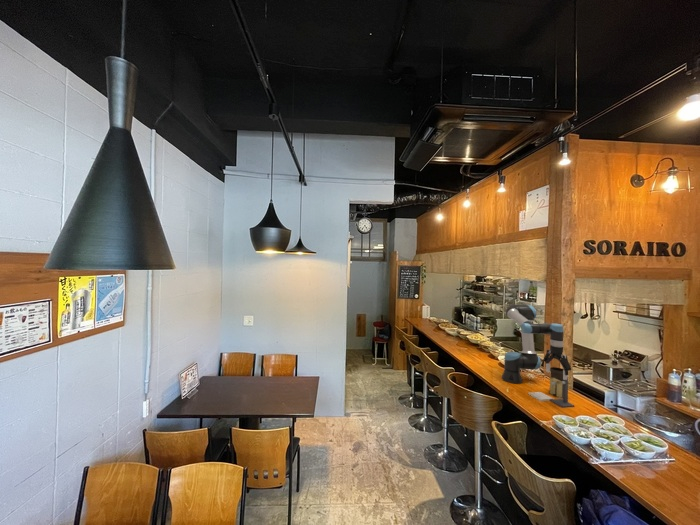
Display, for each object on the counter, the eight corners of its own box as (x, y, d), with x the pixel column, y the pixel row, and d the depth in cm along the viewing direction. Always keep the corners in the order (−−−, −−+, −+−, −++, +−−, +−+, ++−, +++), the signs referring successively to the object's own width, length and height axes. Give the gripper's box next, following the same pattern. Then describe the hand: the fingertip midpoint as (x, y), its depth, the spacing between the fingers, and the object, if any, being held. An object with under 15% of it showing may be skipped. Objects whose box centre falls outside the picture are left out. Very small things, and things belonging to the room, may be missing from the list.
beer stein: (570, 399, 210) (569, 371, 212) (553, 397, 213) (553, 370, 214) (559, 391, 225) (558, 365, 227) (544, 389, 228) (543, 364, 229)
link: (549, 393, 205) (550, 377, 205) (553, 392, 206) (553, 377, 206) (558, 397, 199) (558, 381, 199) (562, 397, 199) (562, 381, 199)
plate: (528, 394, 217) (528, 392, 217) (540, 393, 219) (540, 391, 219) (540, 401, 206) (540, 399, 206) (553, 400, 208) (553, 398, 208)
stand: (546, 401, 207) (546, 375, 207) (561, 399, 209) (561, 374, 209) (558, 408, 197) (558, 380, 197) (574, 406, 199) (574, 379, 199)
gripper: (537, 341, 214) (537, 369, 214) (568, 351, 189) (568, 383, 189) (546, 341, 215) (545, 369, 215) (578, 350, 191) (577, 382, 190)
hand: (556, 375), depth 202 cm, fingers open, 13 cm apart
